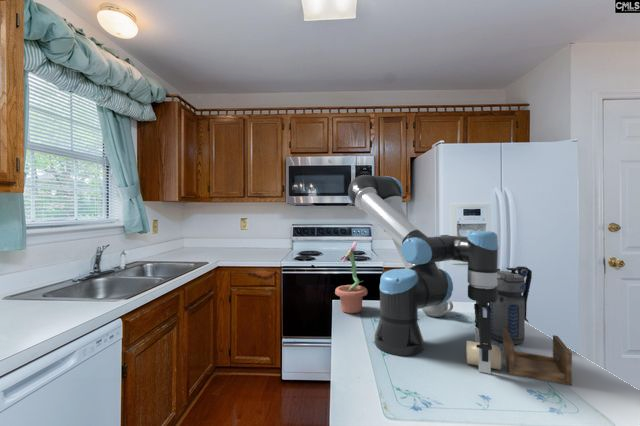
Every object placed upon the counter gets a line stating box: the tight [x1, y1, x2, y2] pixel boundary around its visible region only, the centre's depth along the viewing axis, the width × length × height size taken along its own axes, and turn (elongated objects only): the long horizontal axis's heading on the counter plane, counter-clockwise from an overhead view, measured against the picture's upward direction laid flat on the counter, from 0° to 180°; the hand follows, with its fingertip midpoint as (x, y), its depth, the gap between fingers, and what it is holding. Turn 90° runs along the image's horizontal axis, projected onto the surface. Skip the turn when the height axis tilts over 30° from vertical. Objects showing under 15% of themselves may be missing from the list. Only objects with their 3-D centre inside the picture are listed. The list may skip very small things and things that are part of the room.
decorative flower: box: [334, 241, 368, 314], centre depth 128 cm, size 15×14×30 cm
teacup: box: [420, 299, 454, 318], centre depth 121 cm, size 14×11×8 cm
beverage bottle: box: [488, 265, 533, 345], centre depth 99 cm, size 10×13×25 cm
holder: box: [502, 328, 573, 387], centre depth 80 cm, size 13×11×8 cm
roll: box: [465, 340, 502, 371], centre depth 82 cm, size 8×6×6 cm
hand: (482, 360), depth 84 cm, fingers open, 12 cm apart
